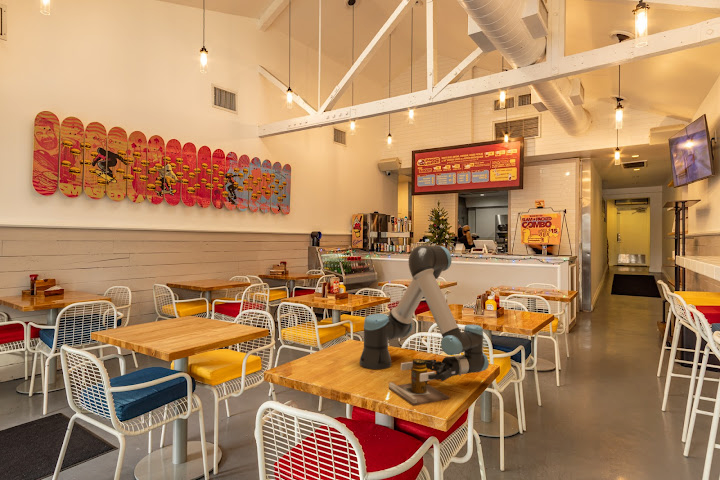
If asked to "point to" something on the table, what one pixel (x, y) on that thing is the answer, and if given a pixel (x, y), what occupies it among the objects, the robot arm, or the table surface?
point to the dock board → (418, 399)
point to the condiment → (417, 378)
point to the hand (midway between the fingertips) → (410, 372)
